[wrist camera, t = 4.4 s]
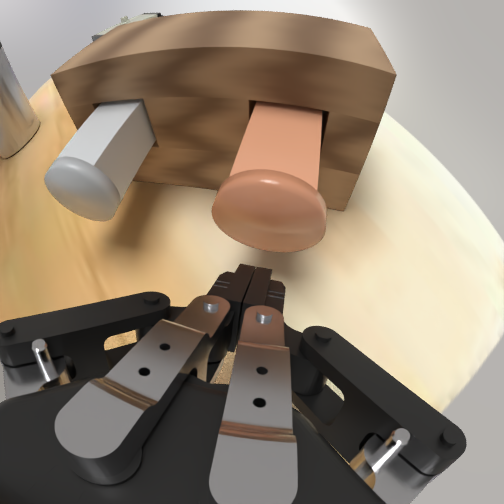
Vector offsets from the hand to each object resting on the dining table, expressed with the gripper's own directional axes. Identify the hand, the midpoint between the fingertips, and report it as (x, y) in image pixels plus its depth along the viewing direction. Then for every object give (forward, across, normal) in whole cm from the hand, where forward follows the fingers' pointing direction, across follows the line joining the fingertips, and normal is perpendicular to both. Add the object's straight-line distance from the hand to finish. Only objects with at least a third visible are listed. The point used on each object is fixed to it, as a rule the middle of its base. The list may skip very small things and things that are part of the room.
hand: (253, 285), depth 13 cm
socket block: (+15, +6, -6) cm, 17 cm away
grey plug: (+7, +12, -4) cm, 15 cm away
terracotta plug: (+7, 0, -4) cm, 9 cm away
